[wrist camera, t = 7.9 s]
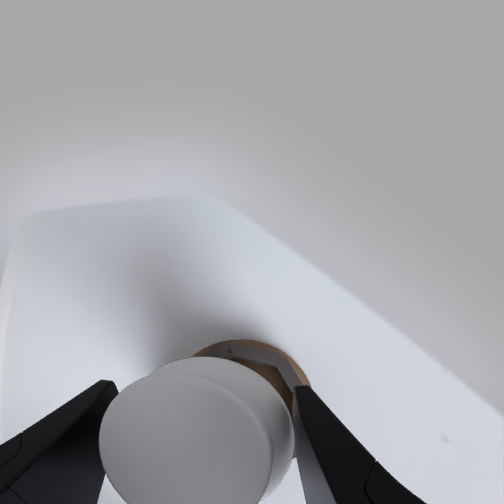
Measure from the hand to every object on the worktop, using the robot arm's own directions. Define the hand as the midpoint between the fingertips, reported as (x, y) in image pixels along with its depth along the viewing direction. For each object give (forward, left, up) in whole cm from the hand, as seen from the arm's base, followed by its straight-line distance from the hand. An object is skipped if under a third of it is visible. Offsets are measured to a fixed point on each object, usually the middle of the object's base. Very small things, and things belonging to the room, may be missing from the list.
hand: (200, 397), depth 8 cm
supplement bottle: (-1, -1, -7) cm, 8 cm away
